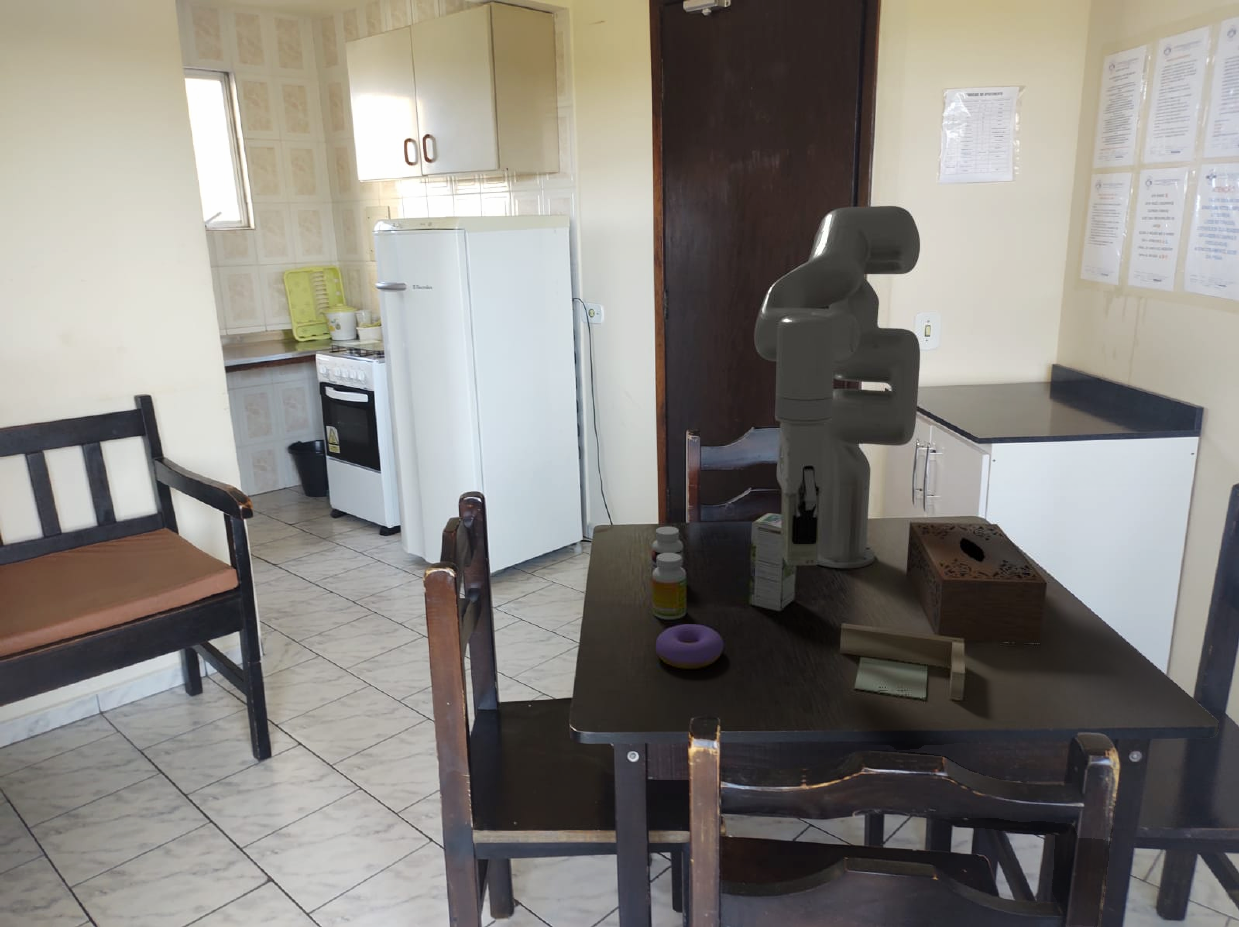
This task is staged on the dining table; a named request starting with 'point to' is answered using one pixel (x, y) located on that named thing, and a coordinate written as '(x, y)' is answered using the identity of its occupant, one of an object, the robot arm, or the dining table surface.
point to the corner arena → (902, 659)
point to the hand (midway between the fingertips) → (799, 533)
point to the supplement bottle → (669, 587)
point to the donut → (689, 646)
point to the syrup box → (770, 566)
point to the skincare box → (790, 551)
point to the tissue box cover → (975, 583)
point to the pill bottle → (666, 544)
